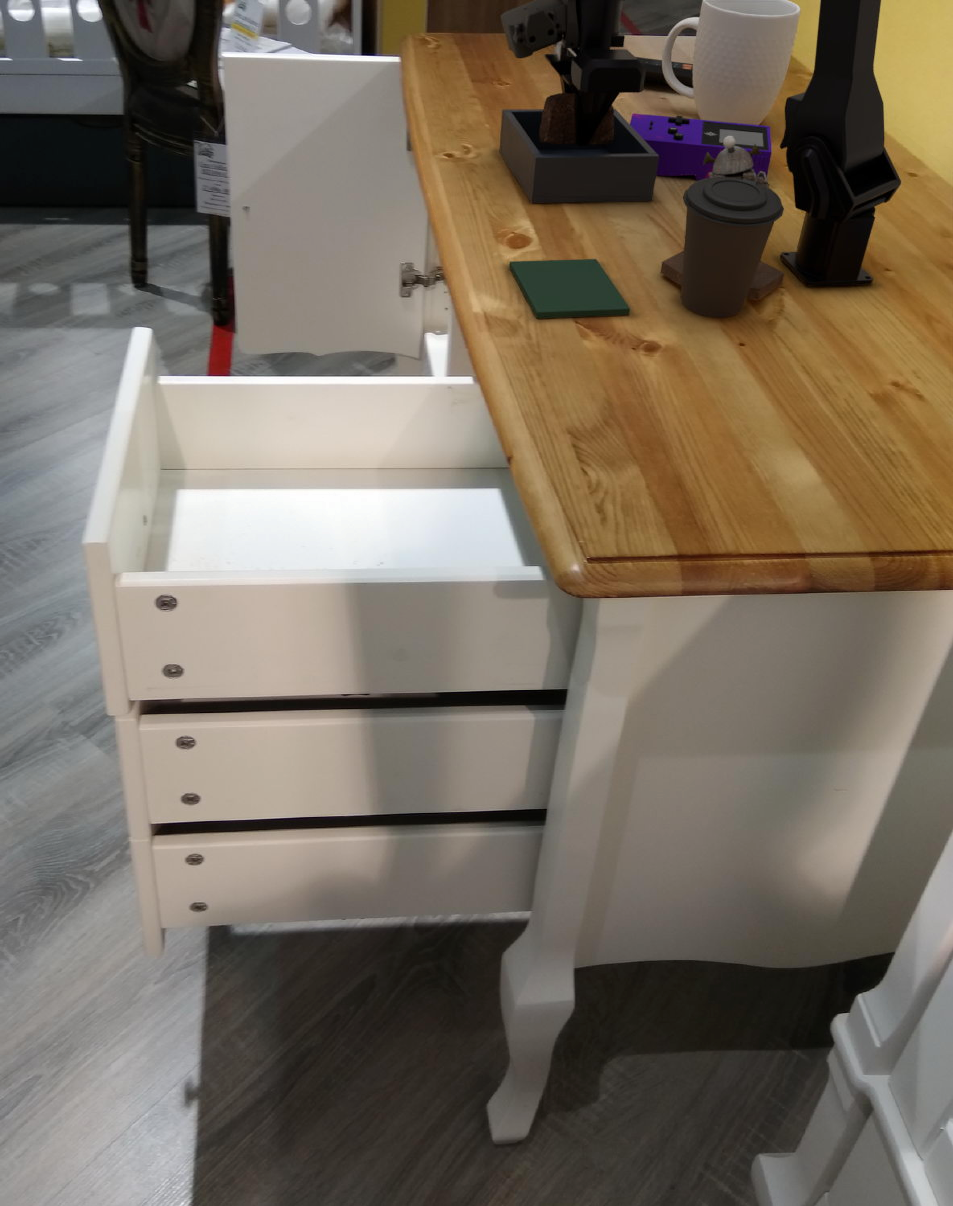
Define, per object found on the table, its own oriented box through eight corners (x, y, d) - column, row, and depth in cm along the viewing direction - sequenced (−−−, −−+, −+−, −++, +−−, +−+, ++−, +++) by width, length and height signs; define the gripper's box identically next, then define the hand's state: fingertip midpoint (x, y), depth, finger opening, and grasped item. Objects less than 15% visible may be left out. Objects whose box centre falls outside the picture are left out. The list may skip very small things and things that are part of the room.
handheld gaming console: (633, 108, 128) (770, 121, 127) (627, 157, 132) (761, 170, 130) (626, 133, 121) (772, 148, 119) (620, 184, 124) (762, 198, 123)
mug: (638, 119, 138) (656, -2, 129) (670, 97, 145) (688, -19, 137) (760, 145, 133) (787, 21, 125) (786, 121, 141) (812, 2, 132)
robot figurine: (778, 266, 107) (808, 129, 100) (793, 303, 99) (827, 156, 92) (657, 255, 107) (679, 117, 100) (663, 291, 99) (687, 144, 92)
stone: (609, 143, 122) (615, 92, 118) (616, 153, 119) (623, 102, 116) (537, 142, 120) (541, 91, 117) (542, 152, 118) (547, 101, 115)
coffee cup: (757, 284, 102) (784, 173, 95) (761, 331, 96) (790, 217, 89) (665, 273, 103) (685, 162, 96) (663, 320, 97) (684, 205, 90)
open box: (652, 201, 117) (659, 156, 115) (531, 203, 115) (535, 157, 112) (610, 151, 128) (615, 108, 125) (498, 152, 126) (502, 109, 123)
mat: (629, 315, 97) (630, 308, 97) (536, 318, 95) (537, 312, 95) (595, 265, 104) (596, 258, 104) (509, 267, 103) (509, 261, 103)
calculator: (698, 71, 155) (702, 47, 153) (690, 96, 146) (694, 71, 144) (628, 63, 156) (631, 38, 154) (616, 86, 147) (620, 61, 145)
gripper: (490, -53, 115) (481, 112, 125) (536, -7, 101) (522, 174, 111) (599, -50, 117) (581, 111, 127) (658, -6, 103) (633, 172, 113)
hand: (577, 140), depth 119 cm, fingers closed on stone, 3 cm apart
